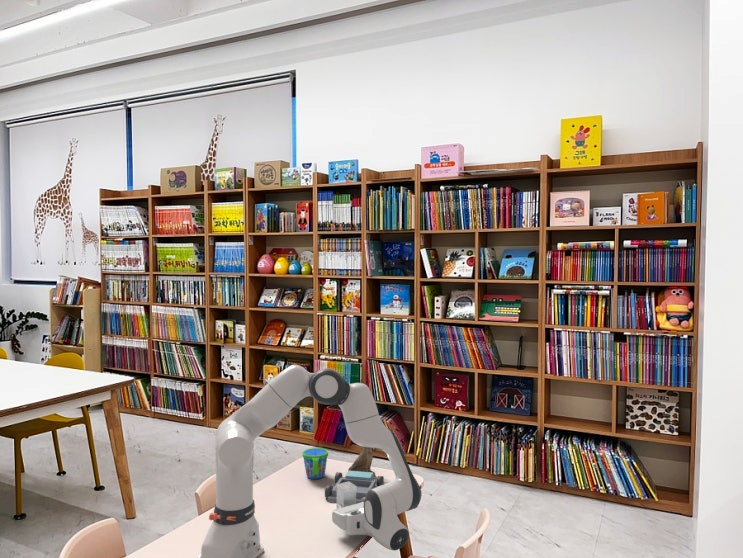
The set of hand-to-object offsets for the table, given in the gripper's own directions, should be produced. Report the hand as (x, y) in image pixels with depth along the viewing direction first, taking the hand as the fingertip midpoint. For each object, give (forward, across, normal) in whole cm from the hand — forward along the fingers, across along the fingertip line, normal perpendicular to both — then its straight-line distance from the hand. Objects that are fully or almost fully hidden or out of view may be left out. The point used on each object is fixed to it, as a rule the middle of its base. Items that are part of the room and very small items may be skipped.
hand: (350, 503), depth 188 cm
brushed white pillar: (+3, 0, +6) cm, 7 cm away
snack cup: (+41, -7, +6) cm, 42 cm away
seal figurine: (+33, -24, +6) cm, 41 cm away
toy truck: (+19, -13, +6) cm, 23 cm away
